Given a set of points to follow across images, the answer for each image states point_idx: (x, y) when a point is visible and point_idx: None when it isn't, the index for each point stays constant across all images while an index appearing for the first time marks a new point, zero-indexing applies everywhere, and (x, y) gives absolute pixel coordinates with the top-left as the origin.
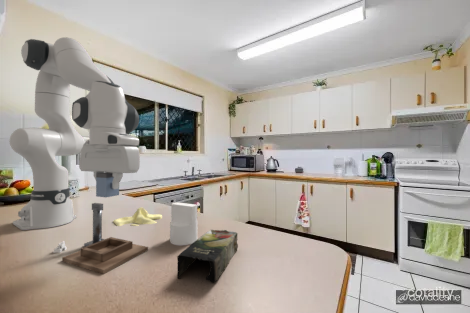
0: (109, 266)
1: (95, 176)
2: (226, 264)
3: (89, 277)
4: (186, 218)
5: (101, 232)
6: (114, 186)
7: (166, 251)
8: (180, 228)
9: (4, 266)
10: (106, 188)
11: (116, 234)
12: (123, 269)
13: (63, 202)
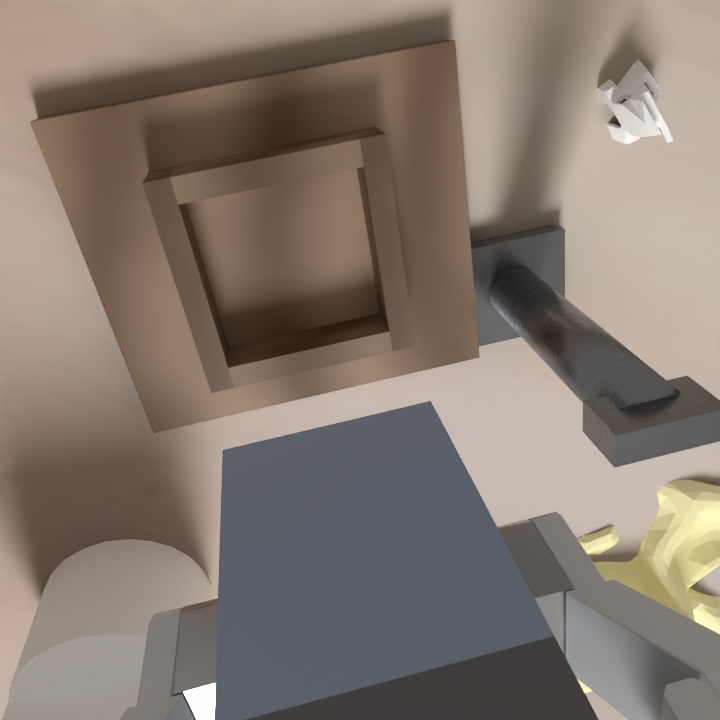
0: (54, 167)
1: (685, 657)
2: None
3: (62, 45)
4: None
5: (519, 334)
6: (151, 652)
7: (54, 473)
8: (44, 640)
9: None
10: (224, 548)
11: (553, 419)
12: (10, 219)
13: None
